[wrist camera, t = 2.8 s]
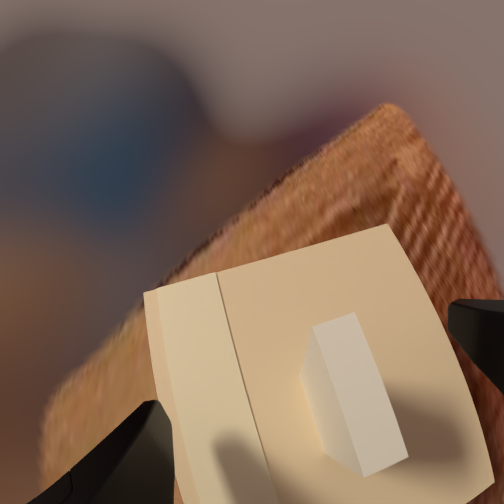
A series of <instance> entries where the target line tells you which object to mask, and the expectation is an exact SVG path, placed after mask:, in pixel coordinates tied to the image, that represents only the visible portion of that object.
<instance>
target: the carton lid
mask: <svg viewBox="0 0 504 504" xmlns="http://www.w3.org/2000/svg"><path fill="white" fill-rule="evenodd" d="M144 303H145V313H146V322H147V331H148V339H149V346H150V353H151V360H152V367H153V373H154V379H155V385H156V390H157V396H158V401H159V402H160V403H161V404H162V406H163V408H164V410H165V412H166V414H167V415H168V417H169V419H170V421H171V424H172V434H173V450H174V464H175V475H176V479H177V482H178V486H179V489H180V493H181V496H182V499H183V502H184V504H466V503H468V502H469V501H470V500H472V499H473V498H475V497H476V496H477V495H479V494H480V493H481V492H483V491H484V490H485V489H486V488H488V487H489V486H490V485H492V484H493V483H494V482H495V481H494V476H493V471H492V467H491V462H490V458H489V454H488V450H487V446H486V442H485V439H484V435H483V432H482V428H481V425H480V422H479V418H478V415H477V412H476V409H475V406H474V403H473V400H472V397H471V394H470V391H469V389H468V386H467V383H466V380H465V378H464V375H463V373H462V370H461V368H460V365H459V363H458V360H457V358H456V355H455V353H454V350H453V348H452V346H451V343H450V341H449V339H448V337H447V334H446V332H445V330H444V328H443V326H442V323H441V321H440V319H439V317H438V315H437V313H436V311H435V309H434V307H433V305H432V303H431V301H430V299H429V297H428V295H427V293H426V291H425V289H424V287H423V285H422V283H421V281H420V279H419V277H418V276H417V274H416V272H415V270H414V268H413V266H412V265H411V263H410V261H409V259H408V257H407V256H406V254H405V252H404V250H403V249H402V247H401V245H400V244H399V242H398V240H397V239H396V237H395V235H394V234H393V232H392V230H391V229H390V227H389V225H388V224H384V225H381V226H377V227H374V228H370V229H367V230H364V231H360V232H357V233H353V234H350V235H347V236H343V237H340V238H336V239H333V240H329V241H326V242H322V243H319V244H316V245H312V246H309V247H305V248H302V249H298V250H295V251H291V252H288V253H284V254H281V255H277V256H274V257H270V258H267V259H263V260H260V261H256V262H253V263H249V264H246V265H242V266H238V267H235V268H231V269H228V270H224V271H221V272H217V273H216V272H214V273H210V274H207V275H203V276H200V277H196V278H192V279H189V280H185V281H182V282H178V283H174V284H171V285H167V286H163V287H160V288H157V289H156V290H152V291H148V292H145V293H144Z"/></svg>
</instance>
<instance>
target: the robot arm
mask: <svg viewBox="0 0 504 504" xmlns="http://www.w3.org/2000/svg"><path fill="white" fill-rule="evenodd" d="M448 330H449V333H450V334H451V335H452V337H453V338H454V339H455V340H456V342H457V343H458V344H459V345H460V346H461V348H462V349H463V350H464V351H465V353H466V354H467V355H468V357H469V358H470V359H471V360H472V361H473V363H474V364H475V365H476V366H477V367H478V368H479V369H480V370H481V371H482V372H483V373H484V374H485V375H486V376H487V378H488V379H489V380H490V381H491V382H492V383H493V384H494V385H495V386H496V387H497V388H498V389H499V390H500V391H501V392H502V394H503V395H504V300H482V299H457V300H455V301H453V302H451V303H450V304H449V306H448ZM174 481H175V464H174V450H173V434H172V424H171V421H170V419H169V417H168V415H167V414H166V412H165V410H164V408H163V406H162V404H161V403H160V402H159V401H158V400H150V401H145V402H143V403H142V404H141V405H140V406H139V407H138V408H137V409H136V410H135V411H134V412H133V413H131V414H130V415H129V416H128V417H127V418H126V419H125V420H124V421H123V422H122V423H121V424H120V425H119V426H118V427H116V428H115V429H114V430H113V431H112V432H111V433H110V434H109V435H108V436H107V437H106V438H105V439H103V440H102V441H101V442H100V443H99V444H98V445H97V446H96V447H95V448H94V449H93V450H91V451H90V452H89V453H88V454H87V455H86V456H85V457H84V458H83V459H81V460H80V461H79V462H78V463H77V464H76V465H75V466H74V467H72V468H71V469H70V471H68V472H67V473H66V474H64V475H63V476H62V477H61V478H60V479H59V480H58V481H56V482H55V483H54V484H53V485H52V486H50V487H49V488H48V489H46V490H45V491H44V492H42V493H41V494H40V495H38V496H37V497H36V498H34V499H33V500H31V501H30V502H28V503H27V504H174Z"/></svg>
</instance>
